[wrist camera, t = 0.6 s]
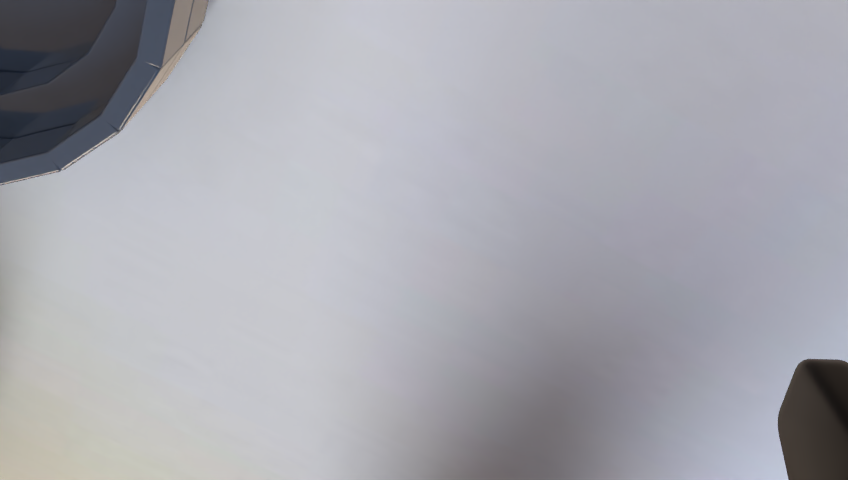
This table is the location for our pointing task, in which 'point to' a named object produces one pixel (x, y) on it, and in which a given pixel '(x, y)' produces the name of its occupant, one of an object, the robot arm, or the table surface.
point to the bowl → (81, 73)
